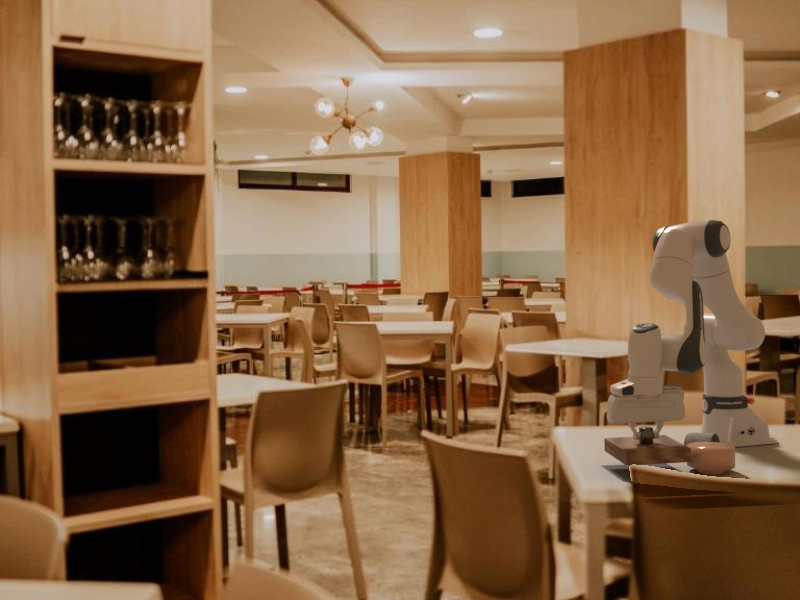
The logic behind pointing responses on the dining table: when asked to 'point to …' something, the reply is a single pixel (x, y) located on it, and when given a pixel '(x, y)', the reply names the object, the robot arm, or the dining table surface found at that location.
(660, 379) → the robot arm
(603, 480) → the dining table surface
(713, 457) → the bowl
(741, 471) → the dining table surface
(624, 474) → the mat
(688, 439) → the ceramic mug
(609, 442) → the lid
